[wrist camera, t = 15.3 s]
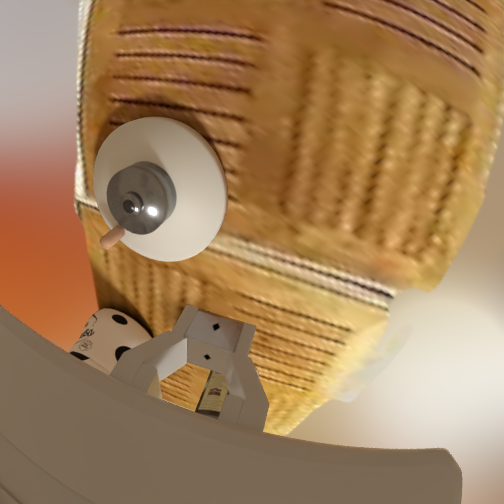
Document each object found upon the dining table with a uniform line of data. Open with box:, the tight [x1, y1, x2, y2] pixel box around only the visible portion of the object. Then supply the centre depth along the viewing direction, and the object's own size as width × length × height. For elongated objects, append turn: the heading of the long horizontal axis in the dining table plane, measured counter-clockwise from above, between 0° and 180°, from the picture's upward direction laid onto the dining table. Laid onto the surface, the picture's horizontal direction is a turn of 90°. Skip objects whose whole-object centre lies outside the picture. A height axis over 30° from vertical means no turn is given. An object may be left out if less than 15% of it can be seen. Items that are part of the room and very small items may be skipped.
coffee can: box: [195, 368, 259, 419], centre depth 52 cm, size 10×10×14 cm
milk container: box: [68, 308, 152, 375], centre depth 52 cm, size 17×17×18 cm
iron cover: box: [107, 161, 177, 235], centre depth 34 cm, size 9×9×5 cm
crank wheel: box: [93, 116, 228, 261], centre depth 35 cm, size 21×21×6 cm
